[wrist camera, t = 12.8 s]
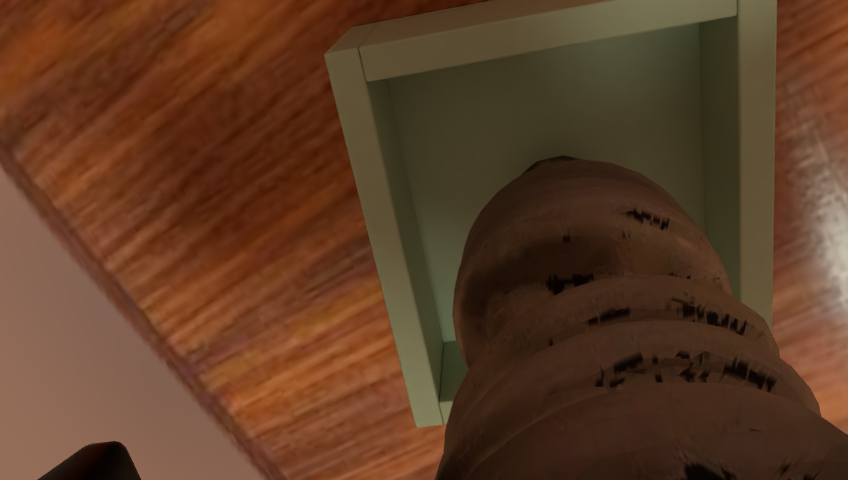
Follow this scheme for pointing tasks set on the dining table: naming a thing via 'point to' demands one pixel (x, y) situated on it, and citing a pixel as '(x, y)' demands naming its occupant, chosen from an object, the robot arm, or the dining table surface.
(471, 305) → the brown ridged cylinder
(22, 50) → the dining table surface
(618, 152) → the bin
